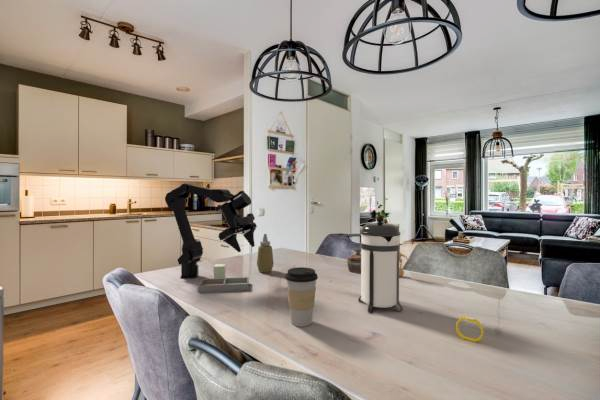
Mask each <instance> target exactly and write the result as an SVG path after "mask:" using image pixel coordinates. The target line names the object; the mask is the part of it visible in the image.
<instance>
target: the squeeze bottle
mask: <svg viewBox="0 0 600 400" xmlns="http://www.w3.org/2000/svg"><path fill="white" fill-rule="evenodd" d="M273 252H274V251H273V247H272V245H271V241H270V240H269V239H268V235H267V233H264V234H263V237H262V240H261V241H260V245H259V246H258V248H257V258H256V266H257V270H258V272H259V273H263V274H264V273H270V272H272V271H273V268H274V267H273V266H274V262H275V261H274V255H273V254H274V253H273Z"/></svg>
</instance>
